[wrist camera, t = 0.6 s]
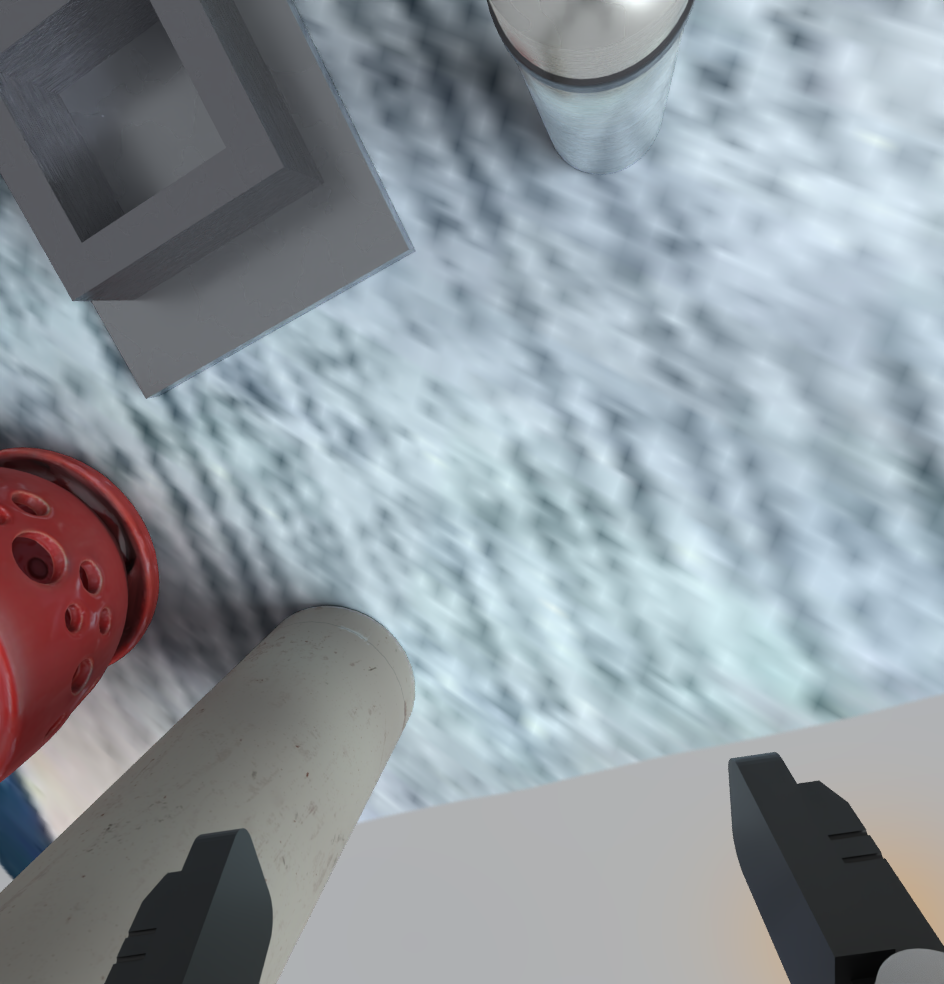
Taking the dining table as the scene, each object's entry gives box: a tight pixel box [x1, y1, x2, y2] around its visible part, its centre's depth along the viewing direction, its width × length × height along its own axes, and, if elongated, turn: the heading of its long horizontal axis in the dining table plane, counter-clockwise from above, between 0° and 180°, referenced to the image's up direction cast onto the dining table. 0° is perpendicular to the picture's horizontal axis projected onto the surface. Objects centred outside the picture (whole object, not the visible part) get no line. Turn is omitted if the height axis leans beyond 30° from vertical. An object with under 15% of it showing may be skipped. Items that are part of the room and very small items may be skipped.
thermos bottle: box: [0, 606, 415, 984], centre depth 24 cm, size 8×8×28 cm
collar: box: [0, 0, 415, 399], centre depth 30 cm, size 18×14×5 cm
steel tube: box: [487, 0, 695, 175], centre depth 22 cm, size 5×5×16 cm
